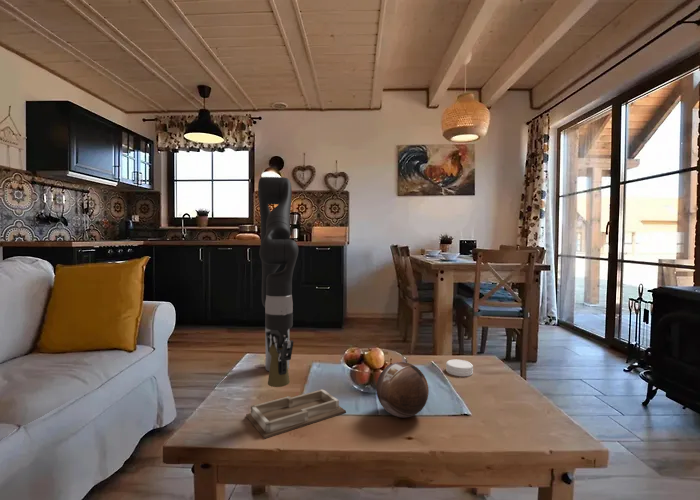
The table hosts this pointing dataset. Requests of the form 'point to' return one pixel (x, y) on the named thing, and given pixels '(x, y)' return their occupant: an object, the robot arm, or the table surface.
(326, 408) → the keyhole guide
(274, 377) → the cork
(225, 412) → the table surface
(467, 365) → the white disc
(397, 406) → the wooden sphere
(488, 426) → the table surface
